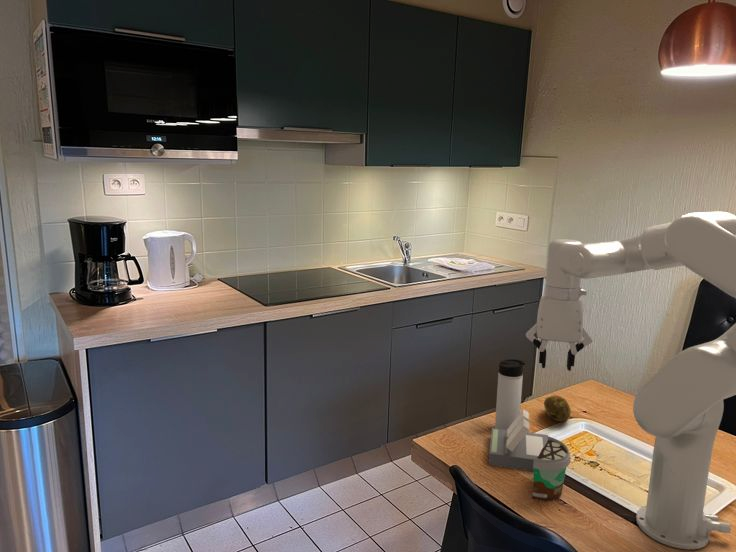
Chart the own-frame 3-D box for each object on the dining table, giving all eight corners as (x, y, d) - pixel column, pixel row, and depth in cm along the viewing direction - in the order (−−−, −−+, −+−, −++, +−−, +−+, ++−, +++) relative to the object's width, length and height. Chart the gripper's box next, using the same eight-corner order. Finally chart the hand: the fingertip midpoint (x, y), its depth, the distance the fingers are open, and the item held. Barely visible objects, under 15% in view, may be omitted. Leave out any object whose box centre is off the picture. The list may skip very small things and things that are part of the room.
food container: (560, 511, 112) (564, 467, 111) (530, 502, 116) (533, 458, 114) (573, 483, 123) (576, 442, 121) (545, 475, 126) (548, 435, 124)
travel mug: (520, 438, 143) (526, 366, 139) (495, 435, 145) (499, 364, 141) (519, 427, 149) (524, 358, 145) (494, 425, 151) (498, 356, 147)
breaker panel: (547, 445, 139) (548, 434, 139) (550, 473, 127) (551, 461, 126) (491, 438, 143) (491, 427, 142) (488, 464, 130) (489, 452, 129)
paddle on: (509, 437, 138) (528, 412, 135) (509, 445, 134) (529, 419, 131) (503, 433, 138) (523, 408, 136) (503, 441, 134) (523, 416, 131)
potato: (579, 416, 157) (581, 390, 155) (563, 432, 147) (566, 405, 145) (550, 408, 162) (552, 382, 160) (533, 423, 152) (536, 396, 150)
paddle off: (509, 447, 133) (529, 421, 130) (508, 456, 128) (529, 430, 126) (503, 443, 133) (523, 418, 130) (502, 452, 129) (523, 426, 126)
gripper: (599, 292, 127) (592, 365, 131) (523, 287, 132) (518, 358, 135) (604, 299, 120) (596, 377, 124) (524, 293, 125) (518, 369, 128)
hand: (555, 366), depth 129 cm, fingers open, 5 cm apart
